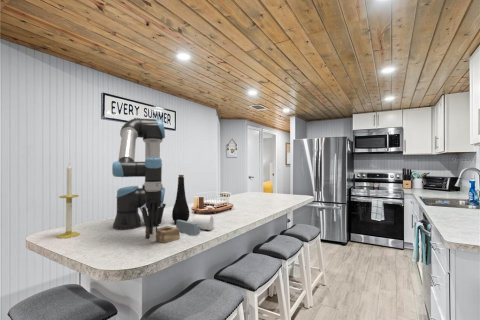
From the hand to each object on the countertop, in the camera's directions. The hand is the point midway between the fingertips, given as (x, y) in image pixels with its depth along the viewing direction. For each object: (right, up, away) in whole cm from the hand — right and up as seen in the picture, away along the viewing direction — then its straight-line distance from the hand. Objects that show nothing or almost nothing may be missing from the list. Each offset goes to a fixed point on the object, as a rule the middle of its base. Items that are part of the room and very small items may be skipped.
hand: (152, 240), depth 120 cm
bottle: (+4, -2, +38) cm, 39 cm away
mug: (+20, -2, +27) cm, 34 cm away
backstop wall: (+13, -1, +18) cm, 23 cm away
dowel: (-5, -1, +8) cm, 10 cm away
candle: (-47, -1, +11) cm, 49 cm away
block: (+5, -1, +6) cm, 8 cm away
